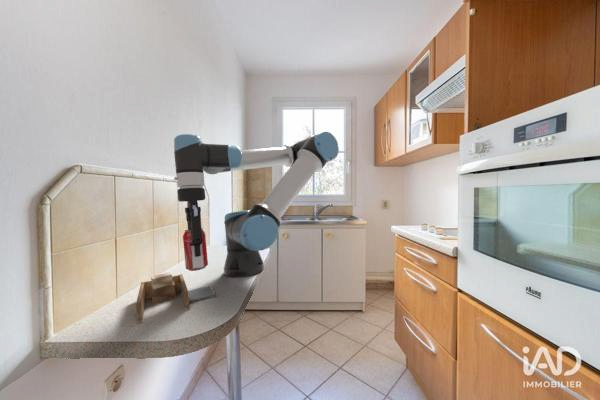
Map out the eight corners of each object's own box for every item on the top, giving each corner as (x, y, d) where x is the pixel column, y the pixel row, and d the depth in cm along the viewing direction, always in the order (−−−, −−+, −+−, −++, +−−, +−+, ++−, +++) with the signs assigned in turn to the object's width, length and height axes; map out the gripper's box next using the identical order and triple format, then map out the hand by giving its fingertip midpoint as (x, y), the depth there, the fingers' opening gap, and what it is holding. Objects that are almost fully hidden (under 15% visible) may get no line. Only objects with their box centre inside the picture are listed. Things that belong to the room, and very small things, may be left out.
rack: (183, 289, 79) (182, 274, 79) (189, 309, 63) (187, 290, 63) (142, 298, 73) (141, 282, 73) (138, 323, 58) (136, 302, 58)
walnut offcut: (175, 293, 76) (174, 281, 76) (175, 298, 73) (174, 284, 72) (152, 299, 73) (151, 286, 73) (152, 303, 70) (151, 289, 70)
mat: (209, 287, 79) (209, 285, 79) (215, 296, 71) (215, 294, 71) (186, 293, 75) (185, 291, 75) (189, 303, 68) (188, 300, 68)
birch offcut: (170, 281, 76) (169, 272, 76) (172, 284, 73) (171, 274, 73) (151, 286, 73) (151, 276, 72) (153, 289, 70) (152, 279, 70)
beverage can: (196, 265, 78) (193, 228, 78) (212, 266, 76) (209, 227, 75) (181, 271, 72) (177, 231, 72) (197, 272, 70) (194, 230, 70)
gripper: (175, 190, 79) (180, 261, 79) (179, 186, 63) (186, 275, 63) (200, 189, 82) (205, 257, 83) (209, 185, 67) (215, 269, 67)
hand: (196, 265), depth 73 cm, fingers closed on beverage can, 5 cm apart
